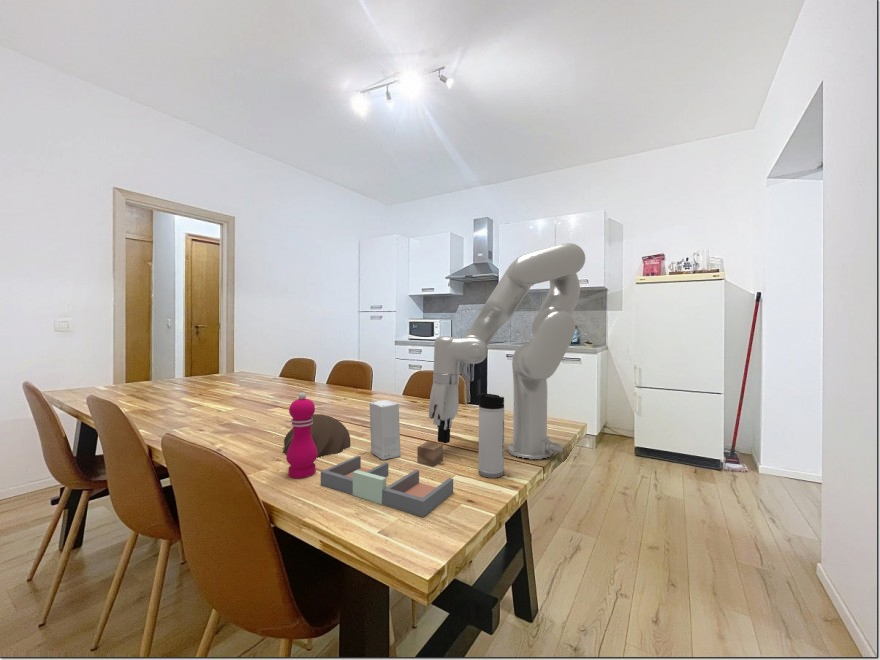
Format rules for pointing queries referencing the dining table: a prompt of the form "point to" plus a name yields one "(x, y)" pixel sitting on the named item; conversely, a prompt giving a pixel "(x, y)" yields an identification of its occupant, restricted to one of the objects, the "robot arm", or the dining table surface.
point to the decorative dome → (325, 435)
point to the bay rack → (373, 487)
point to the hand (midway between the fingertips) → (443, 441)
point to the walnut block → (430, 453)
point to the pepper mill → (301, 439)
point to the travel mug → (491, 435)
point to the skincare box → (385, 429)
